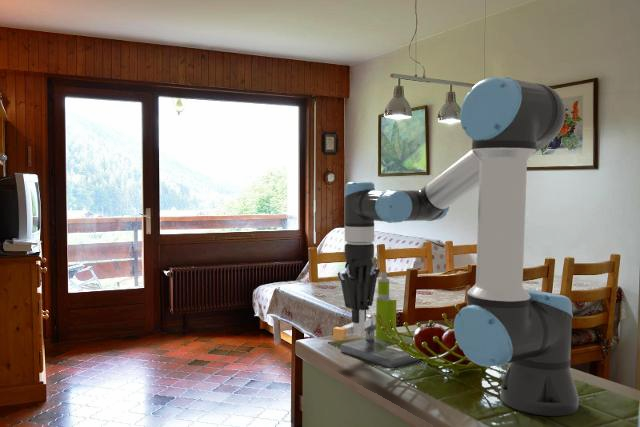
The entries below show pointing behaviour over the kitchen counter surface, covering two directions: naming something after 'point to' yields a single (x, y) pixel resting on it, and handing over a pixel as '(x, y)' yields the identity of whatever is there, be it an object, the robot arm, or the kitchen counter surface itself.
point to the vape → (385, 308)
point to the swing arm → (347, 330)
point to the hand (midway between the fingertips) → (358, 334)
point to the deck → (377, 351)
